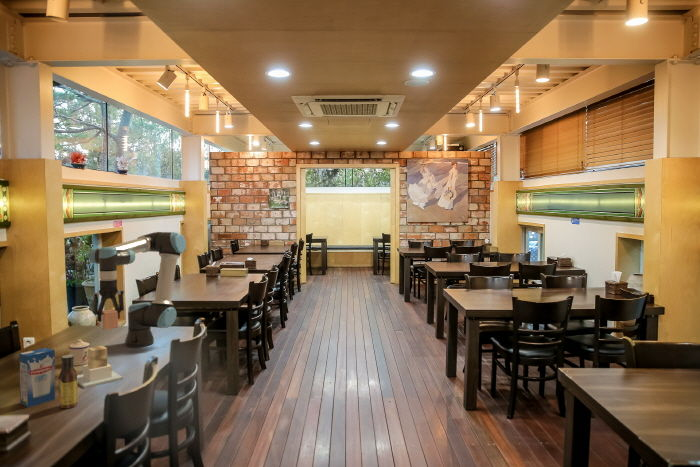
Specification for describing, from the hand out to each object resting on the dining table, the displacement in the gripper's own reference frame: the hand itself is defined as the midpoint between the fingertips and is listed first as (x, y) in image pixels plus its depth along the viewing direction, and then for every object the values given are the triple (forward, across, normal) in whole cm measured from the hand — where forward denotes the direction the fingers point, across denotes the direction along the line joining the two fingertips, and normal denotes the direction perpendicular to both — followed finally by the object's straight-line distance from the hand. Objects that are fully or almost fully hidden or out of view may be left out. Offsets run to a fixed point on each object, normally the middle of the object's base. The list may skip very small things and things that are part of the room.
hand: (108, 326), depth 234 cm
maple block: (+13, +10, +14) cm, 22 cm away
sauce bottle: (+19, +29, +38) cm, 52 cm away
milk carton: (+19, +36, +25) cm, 48 cm away
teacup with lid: (+20, +8, -17) cm, 27 cm away
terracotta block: (0, 0, 0) cm, 0 cm away
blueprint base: (+19, +10, +14) cm, 26 cm away
